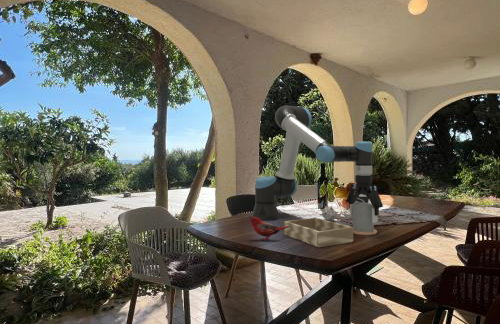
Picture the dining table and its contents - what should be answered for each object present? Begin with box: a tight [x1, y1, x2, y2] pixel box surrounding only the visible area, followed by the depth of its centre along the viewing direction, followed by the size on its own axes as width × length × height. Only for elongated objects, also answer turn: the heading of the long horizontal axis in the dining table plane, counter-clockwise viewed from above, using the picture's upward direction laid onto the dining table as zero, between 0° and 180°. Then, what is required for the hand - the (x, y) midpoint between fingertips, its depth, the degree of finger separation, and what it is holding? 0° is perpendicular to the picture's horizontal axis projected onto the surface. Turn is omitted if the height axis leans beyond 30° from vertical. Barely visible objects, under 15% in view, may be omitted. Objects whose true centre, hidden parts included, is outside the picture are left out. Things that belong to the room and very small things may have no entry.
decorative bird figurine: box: [248, 217, 290, 241], centre depth 145 cm, size 3×18×10 cm, turn 84°
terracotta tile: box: [353, 228, 378, 236], centre depth 160 cm, size 12×12×1 cm
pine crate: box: [283, 217, 354, 248], centre depth 149 cm, size 24×18×6 cm
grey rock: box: [319, 205, 339, 222], centre depth 186 cm, size 9×8×10 cm
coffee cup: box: [354, 193, 370, 203], centre depth 194 cm, size 10×10×15 cm
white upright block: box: [352, 202, 375, 232], centre depth 160 cm, size 10×10×12 cm
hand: (363, 219), depth 160 cm, fingers open, 13 cm apart
